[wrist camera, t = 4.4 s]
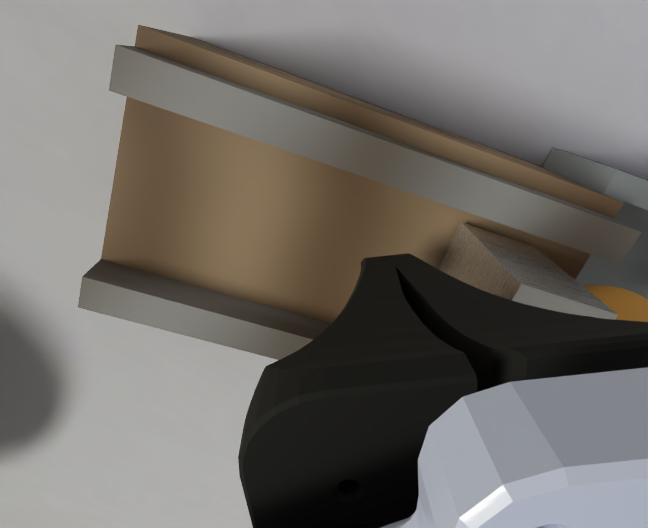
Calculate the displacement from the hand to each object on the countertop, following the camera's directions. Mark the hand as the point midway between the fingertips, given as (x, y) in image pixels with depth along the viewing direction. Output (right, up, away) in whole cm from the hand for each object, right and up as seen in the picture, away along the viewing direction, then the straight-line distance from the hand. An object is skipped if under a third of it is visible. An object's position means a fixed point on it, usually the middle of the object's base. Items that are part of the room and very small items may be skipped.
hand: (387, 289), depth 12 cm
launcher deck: (-1, +3, +6) cm, 7 cm away
